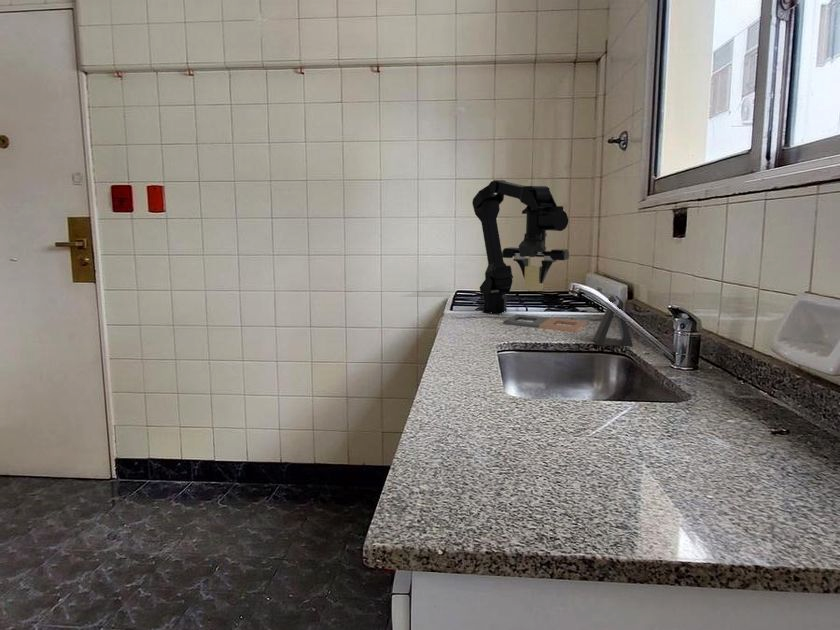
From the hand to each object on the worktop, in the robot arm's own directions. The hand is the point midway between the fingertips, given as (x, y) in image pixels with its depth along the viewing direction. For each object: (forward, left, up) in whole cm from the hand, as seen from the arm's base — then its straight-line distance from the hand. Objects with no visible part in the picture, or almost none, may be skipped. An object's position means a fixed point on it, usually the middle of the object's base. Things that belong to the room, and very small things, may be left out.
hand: (534, 282), depth 167 cm
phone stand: (+26, -14, -13) cm, 32 cm away
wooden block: (0, 0, -2) cm, 2 cm away
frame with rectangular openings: (+4, 0, -12) cm, 13 cm away
